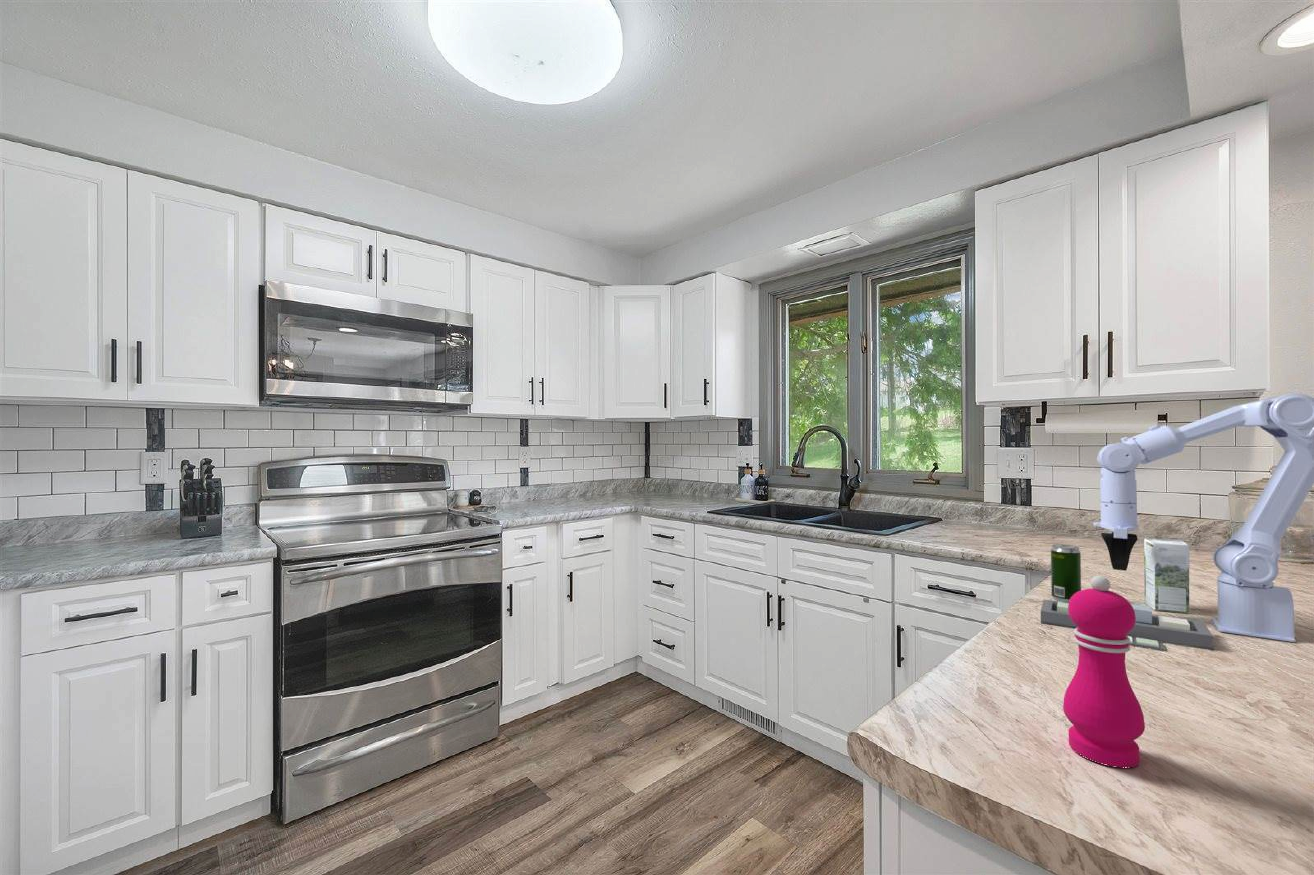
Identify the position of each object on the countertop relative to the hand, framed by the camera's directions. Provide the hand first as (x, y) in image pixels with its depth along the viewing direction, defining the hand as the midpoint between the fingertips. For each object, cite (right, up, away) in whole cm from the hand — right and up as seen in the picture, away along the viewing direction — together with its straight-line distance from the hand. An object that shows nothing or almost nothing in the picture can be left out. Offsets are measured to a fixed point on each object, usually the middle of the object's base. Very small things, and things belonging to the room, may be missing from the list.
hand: (1119, 569), depth 113 cm
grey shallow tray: (-6, -9, -8) cm, 14 cm away
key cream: (-1, -8, -12) cm, 15 cm away
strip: (-12, -9, -14) cm, 21 cm away
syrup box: (+14, -10, +4) cm, 17 cm away
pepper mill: (-43, -9, -50) cm, 67 cm away
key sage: (-12, -9, -3) cm, 15 cm away
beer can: (-2, -10, +12) cm, 15 cm away
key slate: (-5, -7, -9) cm, 12 cm away
